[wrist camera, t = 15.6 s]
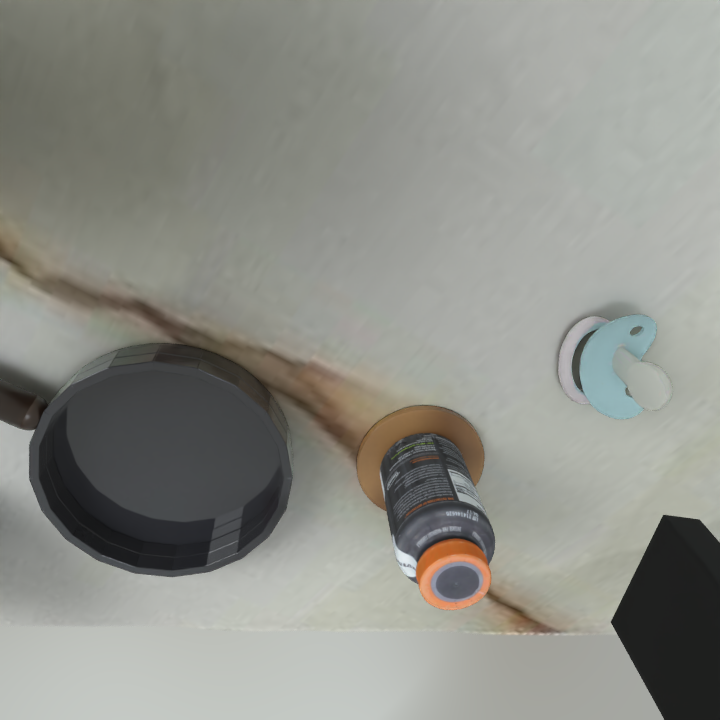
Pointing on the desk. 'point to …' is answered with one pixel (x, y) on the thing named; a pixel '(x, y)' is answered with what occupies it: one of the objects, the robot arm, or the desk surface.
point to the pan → (163, 460)
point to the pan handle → (20, 406)
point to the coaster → (410, 424)
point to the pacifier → (615, 367)
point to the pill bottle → (437, 520)
